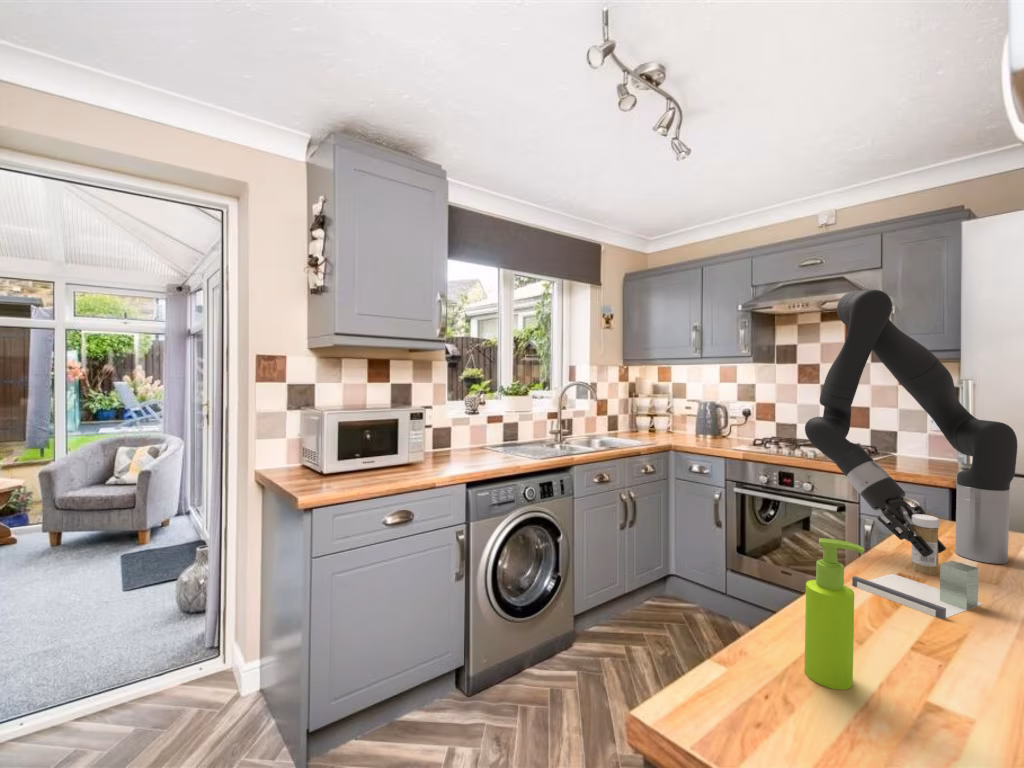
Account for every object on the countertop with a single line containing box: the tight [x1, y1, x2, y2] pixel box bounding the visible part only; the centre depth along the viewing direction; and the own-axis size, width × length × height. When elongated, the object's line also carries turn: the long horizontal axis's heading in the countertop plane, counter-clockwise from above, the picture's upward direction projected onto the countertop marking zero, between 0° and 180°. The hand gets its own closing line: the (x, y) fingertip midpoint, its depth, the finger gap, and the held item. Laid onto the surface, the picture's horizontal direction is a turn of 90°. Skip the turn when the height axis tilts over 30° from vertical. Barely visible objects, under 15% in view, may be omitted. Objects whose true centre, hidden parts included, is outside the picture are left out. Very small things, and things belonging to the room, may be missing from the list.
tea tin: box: [939, 560, 980, 611], centre depth 91 cm, size 4×4×7 cm
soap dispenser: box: [804, 537, 865, 691], centre depth 71 cm, size 6×7×20 cm
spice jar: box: [911, 514, 940, 576], centre depth 106 cm, size 5×5×14 cm
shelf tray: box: [851, 573, 984, 620], centre depth 95 cm, size 14×15×3 cm
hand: (935, 552), depth 104 cm, fingers closed on spice jar, 4 cm apart
